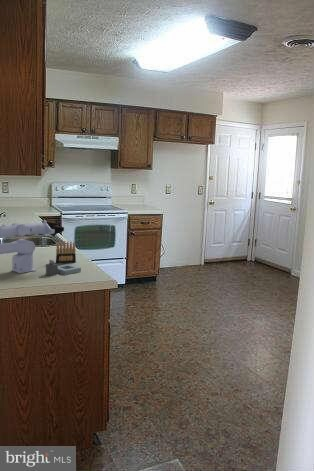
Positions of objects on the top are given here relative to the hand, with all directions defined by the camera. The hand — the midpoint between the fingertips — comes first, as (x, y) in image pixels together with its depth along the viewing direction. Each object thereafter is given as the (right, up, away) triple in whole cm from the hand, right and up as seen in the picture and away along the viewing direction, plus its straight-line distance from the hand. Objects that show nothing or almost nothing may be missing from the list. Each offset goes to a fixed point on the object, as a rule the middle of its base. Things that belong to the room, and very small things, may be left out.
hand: (59, 227), depth 217 cm
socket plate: (+6, -23, -8) cm, 25 cm away
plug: (0, -23, -15) cm, 28 cm away
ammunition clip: (+1, -20, +10) cm, 22 cm away
